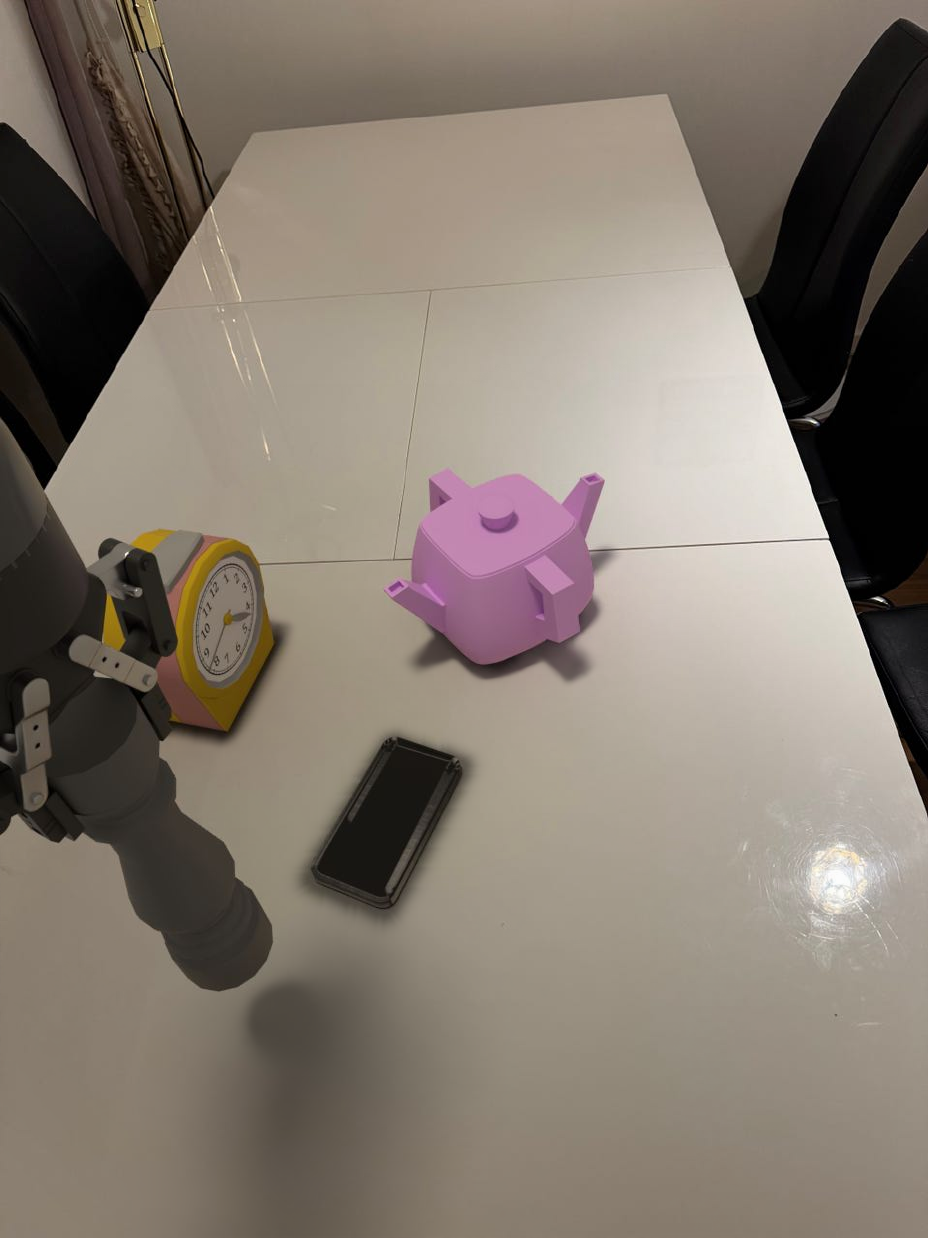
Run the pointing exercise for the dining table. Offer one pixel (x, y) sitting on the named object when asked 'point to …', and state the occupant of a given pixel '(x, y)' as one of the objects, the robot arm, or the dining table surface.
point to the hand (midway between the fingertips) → (111, 777)
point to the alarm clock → (206, 624)
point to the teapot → (501, 564)
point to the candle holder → (156, 838)
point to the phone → (387, 822)
